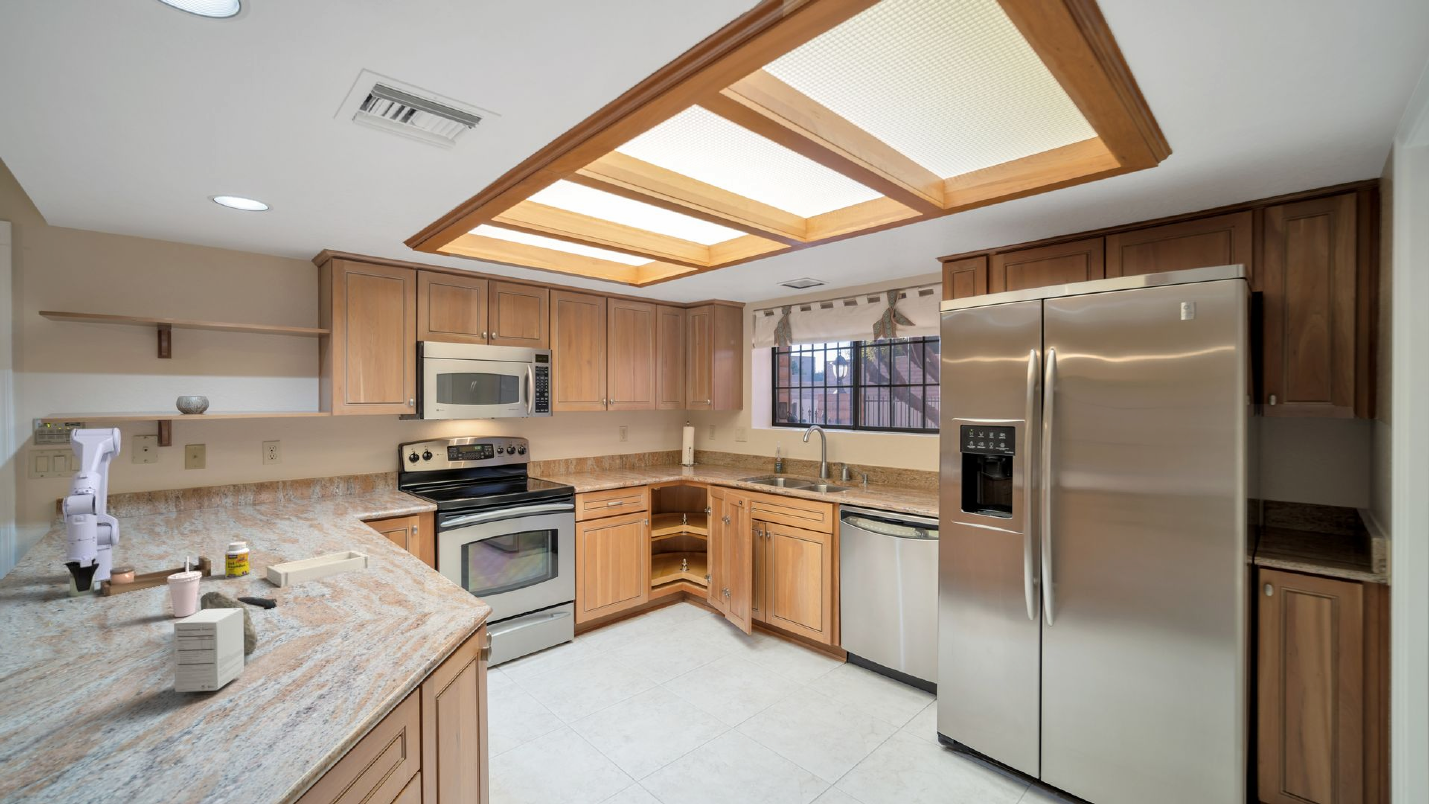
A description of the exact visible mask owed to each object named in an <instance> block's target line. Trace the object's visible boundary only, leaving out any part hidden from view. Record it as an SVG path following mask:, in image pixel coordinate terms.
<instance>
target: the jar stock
mask: <svg viewBox="0 0 1429 804" xmlns="http://www.w3.org/2000/svg"><path fill="white" fill-rule="evenodd" d="M134 576H135V566H132V565H130V566H129V565H128V566H126V565H125V566H120V567H115V568H112V569H111V570H110V579H109V580H110V586H113V585H118V584H124V583H130V582H134Z"/></svg>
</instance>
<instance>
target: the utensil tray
mask: <svg viewBox="0 0 1429 804" xmlns="http://www.w3.org/2000/svg"><path fill="white" fill-rule="evenodd" d="M368 568H369V569H370V568H371V555H368V554H366V553H363V552H360V551H357V550H353V549H352V550H347V551H346V550H345V551H342V552H336V553H330V554H326V555H325V554H324V555H320V556H316V557H310V558H309V557H308V558H304V559H300V560H299V559H298V560H294V561H288V562H284V563H283V562H282V563H277V564H273V565H267V566H266V580H268V581H270V582H271V583H273V584H275V585H277V586H278V587H280V588H284V587H290V586H293V585H298V584H304V583H308V582H311V581H317V580H321V579H324V578H329V577H330V578H331V577H333V576H339V575H342V574H347V573H350V572H356V571H360V570H364V569H368Z"/></svg>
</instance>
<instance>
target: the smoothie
mask: <svg viewBox="0 0 1429 804" xmlns="http://www.w3.org/2000/svg"><path fill="white" fill-rule="evenodd" d="M185 562H186V572H183V573H177V574H174V575H171V576H168V577H167V582H169V584H168V586H169V591H170V597H171V602H172V603H171V604H172V607H173V613H174V617H176V618H183V617H189V616H191V615H193V614H195V613H196V607H197V601H198V600H197V599H198V593H199V588H200V579H201V578H200V577H202V573H201V572H199V571H190V572H189V562H190V556H187V555H186V556H185Z"/></svg>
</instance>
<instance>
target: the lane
mask: <svg viewBox="0 0 1429 804" xmlns="http://www.w3.org/2000/svg"><path fill="white" fill-rule="evenodd" d="M197 559H198V564H196V565H195V564H193V565H194V567H196V571H199V572H201V573H202V577H200V579H202V578H208V577H211V576H212V560H211V559H210V558H207V557H205V556H204V555H199V556H198V557H197ZM183 572H184V566H183V567H177V568H171V569H165V570H159V571H154V572H153V571H152V572H148V573H147V572H146V573H143V574H142V573H141V574H136V575H135V574H134V582H130V583H124V584H118V585H113V586H110V579H107V580H101V581H99V582H100V584H99V585H100V588H99V589H100V592H101V593H102V594H103V595H104V597H106V598H107V597H112V595H113V596H117V595H116V594H118V595H123V594H127V593H126V592H128V593H131V592H130V591H133V592H137V590H138V591H142V590H141V589H143V590H146V589H145V588H148V589H153V588H157V587H156V586H158V587H161V586H160V585H163V586H168V585H169V582H167V577H168V576H171V575H174V574H177V573H183ZM167 584H168V585H167ZM152 587H153V588H152ZM122 593H123V594H122Z"/></svg>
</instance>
